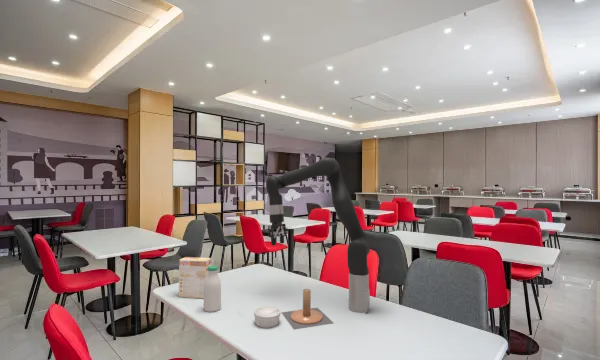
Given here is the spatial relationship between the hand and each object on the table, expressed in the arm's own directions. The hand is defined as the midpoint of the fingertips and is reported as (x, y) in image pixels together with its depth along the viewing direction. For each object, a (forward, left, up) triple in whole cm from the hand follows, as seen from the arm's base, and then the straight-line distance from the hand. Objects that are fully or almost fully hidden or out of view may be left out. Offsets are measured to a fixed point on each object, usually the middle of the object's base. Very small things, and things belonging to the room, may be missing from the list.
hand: (278, 244), depth 169 cm
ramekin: (-12, +31, -28) cm, 43 cm away
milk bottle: (+19, +29, -27) cm, 44 cm away
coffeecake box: (+39, +19, -27) cm, 51 cm away
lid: (-25, +19, -27) cm, 41 cm away
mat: (-25, +19, -27) cm, 42 cm away
